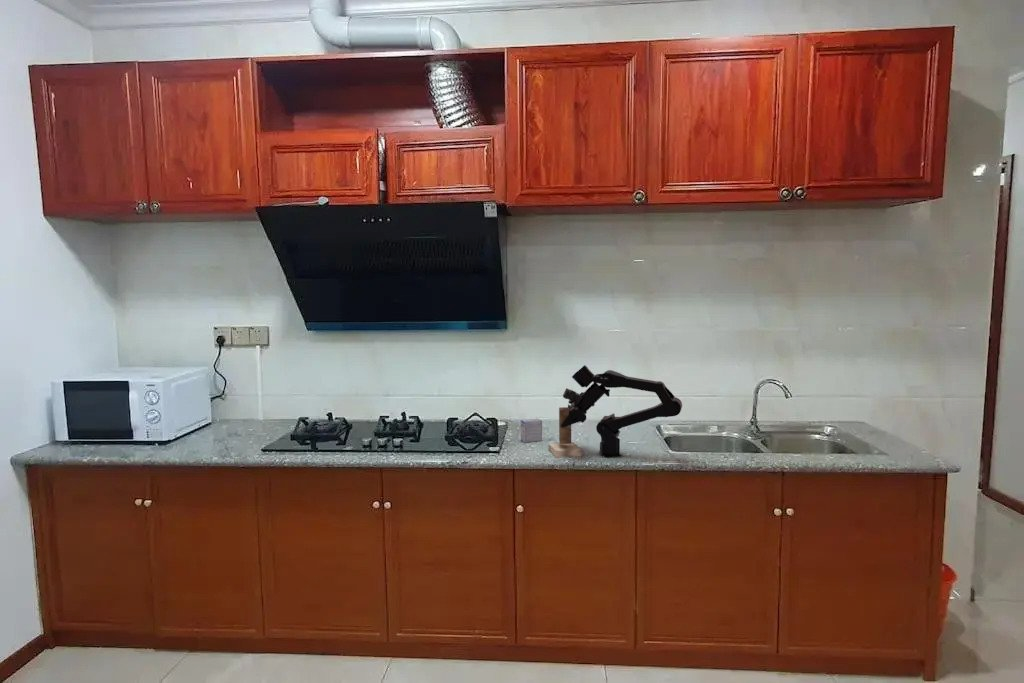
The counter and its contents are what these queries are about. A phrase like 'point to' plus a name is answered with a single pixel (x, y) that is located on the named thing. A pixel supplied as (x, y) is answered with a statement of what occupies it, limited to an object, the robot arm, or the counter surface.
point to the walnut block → (566, 431)
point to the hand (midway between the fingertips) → (561, 425)
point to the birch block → (565, 450)
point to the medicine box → (531, 430)
